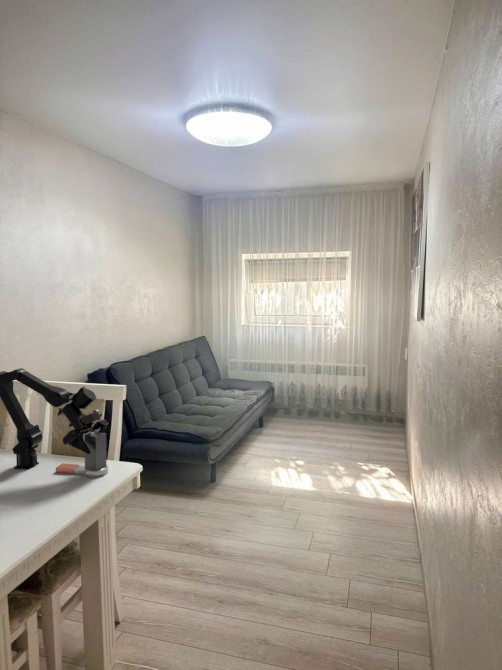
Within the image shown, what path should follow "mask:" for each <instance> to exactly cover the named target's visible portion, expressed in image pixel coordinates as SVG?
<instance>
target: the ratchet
mask: <svg viewBox="0 0 502 670" xmlns="http://www.w3.org/2000/svg"><path fill="white" fill-rule="evenodd" d="M108 468H109V467H108V465H107V464H106V467H105V468H103V469H101V470H99V471H97V472H96V471H91V470H86V469H85V465H80V464H76V463H75V464H74V463H64V462H63V463H61V464H59V465H58V466H56V467H55V473H58V474H71V475H73V474H75V475H83V476H84V477H86V478H91V479H92V478H94V479H95V478H101V477H104V476H106V475H107V474H108V472H109V469H108Z"/></svg>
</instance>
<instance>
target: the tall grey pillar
mask: <svg viewBox="0 0 502 670" xmlns="http://www.w3.org/2000/svg"><path fill="white" fill-rule="evenodd" d="M106 438H107V433H106V432H105V433H102V432H96V431H95V432H90V433H87V434H85V435H84V442H85V443H86V445H87V446H88V448H89V450H90V452H91V453H90V454H87V453H85V452H84V466H85V469H86V470H91V471H96V472H97V471H99V470H101V469H103V468H105V467H106V465H107V447H106Z"/></svg>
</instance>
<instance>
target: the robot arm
mask: <svg viewBox="0 0 502 670" xmlns="http://www.w3.org/2000/svg"><path fill="white" fill-rule="evenodd" d="M14 381H18V382H19V383H21V384H23V385H24V386H26V387H28V388H29V389H30V390H32V391H35V392H36V393H38V394H39V395H41V396H42V397H43V399H44V400H45V401H46V402H47V403H48V404H49V405H51V406H52V407H54V408H58V407H59V408H58V411H57V416H65V418H66V419H67V421H68V422H69V424H68V426H69V428H73V429H72V430H69V431H68V432H66V434H65V435H64V436H63V438H62V443H63V445H64V446H66V447H67V446H68V447H73V448H75V449H78V450H80V451H81V452H84V454H85V453H87V454H90V453H91V452H90V450H89V448H88V446H87V445H86V443H85V439H84V436H85V435H86V434H89V433H92V432H95V431H96V432H102V433H106V429H107V427H108V425H109V422H108V421H107V419H101V417H103V413H102V411H101V410H100V409H99V408H97V409H94V410H92V412H91V413H86V412H85V413H84V412H83V411H82V410H85V409H87V408H88V407H89V406H90V405H91V404H92V403H93V402H94V401H95V400H96V399H97V395H96V394H95V392H93V390H90V389H89V388H87V387H85V386H82V387H81V388H79V389H78V391H77V392H76V393H74V392H70V391H69V390H67V389H65V388H62V387H59V386H55V385H51V384H49V383H48V382H46V381H44V380H42V379H41V378H40V377H37V376H36V375H34V374H32V373H30V372H29V371H28V370H26V369H25V368H22V367H21V368H17V369H16V368H15V369H13V370H12V371H6V370H2V371H0V399H1V401H2V404H3V405H4V408H5V409H6V410H7V414H9V417H10V418H11V420H12V422H13V424H14V426H15V428H16V440H17V442H18V443H17V444H16V445H14V447H12V449H11V450H12V452H13V454H14V455H16V457H15V458H16V459H15V460H16V465H15V466H13V469H17V470H19V469H20V470H30V469H32V468H34V467H35V466H37V465H38V464H39V463H40V462H39V461H38V454H37V450H36V449H37V448H38V447H39V445H40V443H41V442H42V440H43V431H41V429H40V426H39V425H38V424H35V425H34V424H32V423H31V422H30V420H29V419H28V417H27V415H26V413H25V411H24V409H23V407H22V405H21V404H20V402H19V399H18V397H17V396H16V394H15V391H14ZM61 406H63V407H61ZM107 438H108V437H106V448H107V447H108V446H109V442H108V439H107Z"/></svg>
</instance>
